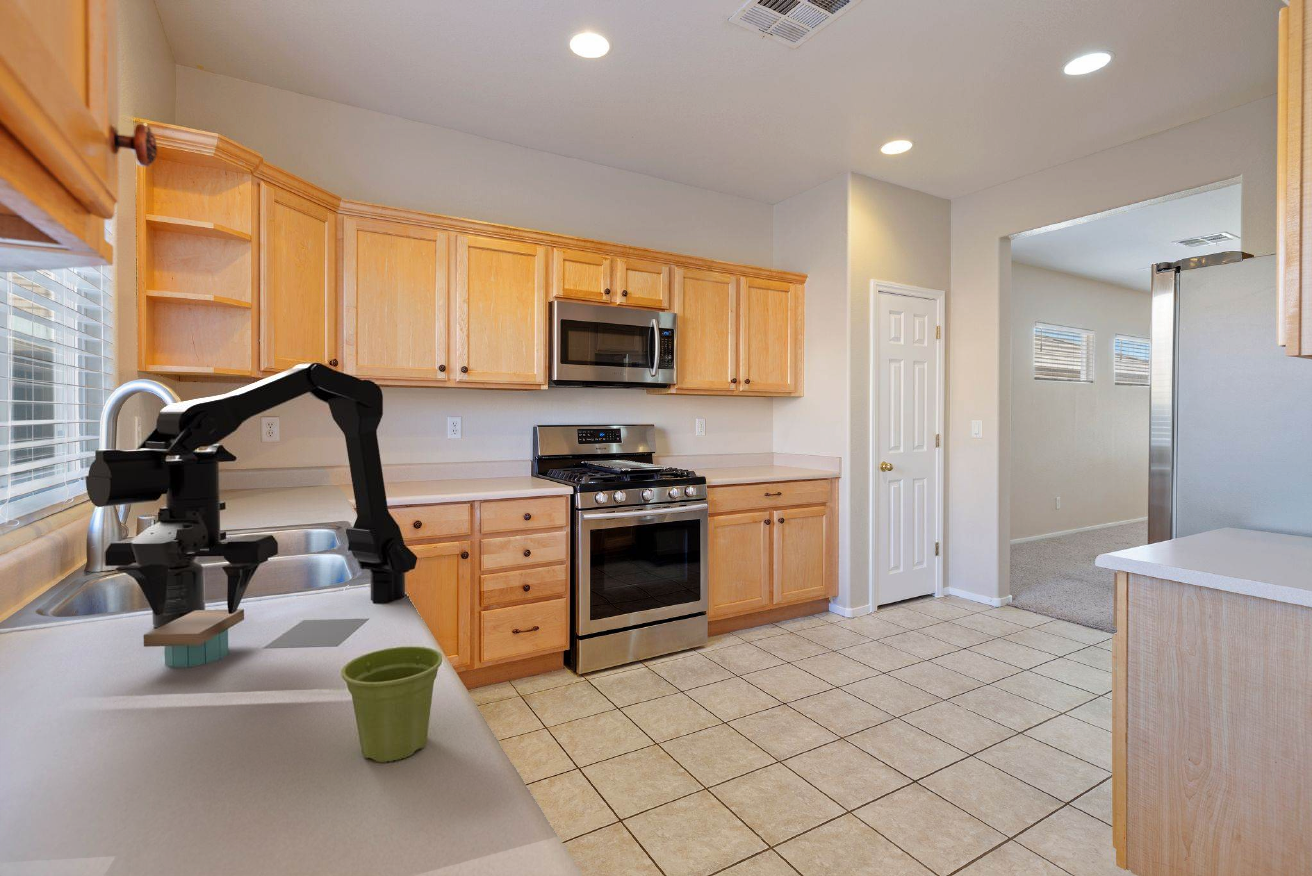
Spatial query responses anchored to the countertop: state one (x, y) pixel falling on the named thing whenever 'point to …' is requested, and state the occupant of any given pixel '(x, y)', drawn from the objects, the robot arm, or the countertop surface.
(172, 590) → the supplement bottle
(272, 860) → the countertop surface
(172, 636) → the walnut board
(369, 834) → the countertop surface
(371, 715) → the plant pot
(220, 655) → the ramekin
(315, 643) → the trivet
